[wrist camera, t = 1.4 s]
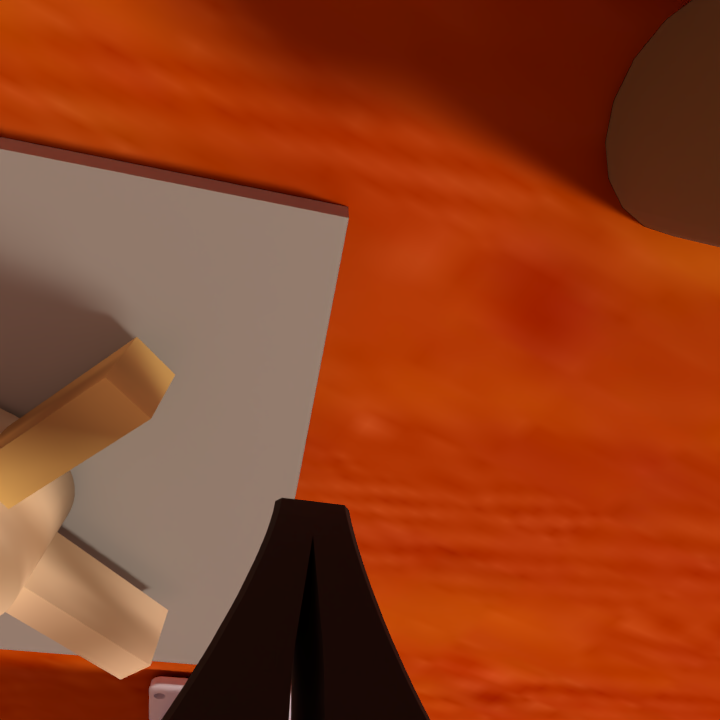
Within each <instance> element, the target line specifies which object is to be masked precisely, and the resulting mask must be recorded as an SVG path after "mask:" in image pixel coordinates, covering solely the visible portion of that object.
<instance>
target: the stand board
mask: <svg viewBox="0 0 720 720" xmlns="http://www.w3.org/2000/svg"><path fill="white" fill-rule="evenodd" d="M348 219H349V215H348V207H346V206H341V205H336V204H331V203H326V202H321V201H316V200H311V199H306V198H301V197H296V196H292V195H287V194H282V193H277V192H272V191H267V190H262V189H257V188H252V187H247V186H242V185H237V184H232V183H227V182H222V181H217V180H212V179H207V178H202V177H197V176H192V175H187V174H182V173H177V172H172V171H167V170H162V169H157V168H152V167H147V166H142V165H137V164H132V163H127V162H123V161H118V160H113V159H108V158H103V157H98V156H93V155H88V154H83V153H78V152H73V151H68V150H63V149H58V148H53V147H48V146H43V145H38V144H33V143H28V142H23V141H18V140H13V139H8V138H3V137H0V409H3V410H5V411H7V412H9V413H11V414H13V415H15V416H17V417H18V418H21V417H22V416H24V415H25V414H26V413H28V412H29V411H31V410H32V409H34V408H35V407H37V406H38V405H39V404H41V403H42V402H44V401H45V400H47V399H48V398H49V397H51V396H52V395H54V394H55V393H57V392H58V391H60V390H61V389H62V388H64V387H65V386H67V385H68V384H70V383H71V382H72V381H74V380H75V379H77V378H78V377H80V376H81V375H83V374H84V373H85V372H87V371H88V370H90V369H91V368H93V367H94V366H95V365H97V364H98V363H100V362H101V361H103V360H104V359H106V358H107V357H108V356H110V355H111V354H113V353H114V352H116V351H117V350H118V349H120V348H121V347H123V346H124V345H126V344H127V343H129V342H130V341H131V340H133V339H134V338H136V337H138V338H139V339H140V340H141V341H142V342H143V343H144V344H145V345H146V346H147V347H148V348H149V349H150V350H151V351H152V352H153V353H154V354H155V355H156V356H157V357H158V358H159V359H160V360H161V361H162V362H163V363H164V364H165V365H166V366H167V367H168V368H169V369H170V370H171V371H172V372H173V373H174V374H175V376H174V378H173V380H172V382H171V383H170V385H169V387H168V389H167V391H166V393H165V394H164V396H163V398H162V400H161V402H160V403H159V405H158V407H157V409H156V411H155V413H154V414H153V416H152V418H151V419H150V420H148V421H147V422H145V423H144V424H142V425H141V426H139V427H137V428H136V429H134V430H133V431H131V432H130V433H128V434H126V435H125V436H123V437H122V438H120V439H118V440H117V441H115V442H114V443H112V444H111V445H109V446H107V447H106V448H104V449H103V450H101V451H100V452H98V453H96V454H95V455H93V456H92V457H90V458H88V459H87V460H85V461H84V462H82V463H81V464H79V465H77V466H76V467H74V468H73V469H71V470H70V471H71V474H72V476H73V480H74V486H75V497H74V502H73V505H72V508H71V510H70V512H69V514H68V516H67V517H66V519H65V520H64V522H63V524H62V525H61V527H60V528H59V530H58V533H59V534H61V535H62V536H64V537H65V538H67V539H68V540H69V541H71V542H72V543H74V544H75V545H76V546H78V547H79V548H81V549H82V550H84V551H85V552H86V553H88V554H89V555H91V556H92V557H94V558H95V559H96V560H98V561H99V562H101V563H102V564H103V565H105V566H106V567H108V568H109V569H111V570H112V571H113V572H115V573H116V574H118V575H119V576H121V577H122V578H123V579H125V580H126V581H128V582H129V583H130V584H132V585H133V586H135V587H136V588H138V589H139V590H140V591H142V592H143V593H145V594H146V595H147V596H149V597H150V598H152V599H153V600H155V601H156V602H157V603H159V604H160V605H162V606H163V607H165V608H166V609H167V610H168V612H167V616H166V619H165V622H164V625H163V628H162V631H161V634H160V637H159V640H158V644H157V647H156V650H155V653H154V656H153V659H152V661H160V662H172V663H185V664H198V662H199V661H200V659H201V658H202V656H203V654H204V653H205V651H206V649H207V648H208V646H209V644H210V643H211V641H212V639H213V637H214V636H215V634H216V632H217V630H218V629H219V627H220V625H221V623H222V622H223V620H224V618H225V616H226V615H227V613H228V611H229V609H230V608H231V606H232V604H233V602H234V600H235V598H236V597H237V595H238V593H239V591H240V589H241V587H242V585H243V583H244V581H245V579H246V577H247V574H248V572H249V570H250V568H251V566H252V564H253V562H254V560H255V558H256V556H257V553H258V551H259V549H260V546H261V544H262V542H263V539H264V537H265V534H266V532H267V529H268V526H269V523H270V520H271V517H272V513H273V509H274V504H275V501H276V500H278V499H280V498H289V499H295V495H296V490H297V484H298V479H299V474H300V469H301V464H302V458H303V453H304V448H305V443H306V438H307V432H308V427H309V422H310V417H311V411H312V406H313V401H314V396H315V391H316V385H317V380H318V375H319V370H320V365H321V359H322V354H323V349H324V344H325V339H326V333H327V328H328V323H329V318H330V313H331V307H332V302H333V297H334V292H335V287H336V281H337V276H338V271H339V266H340V261H341V255H342V250H343V245H344V240H345V235H346V229H347V224H348ZM0 649H7V650H20V651H33V652H45V653H58V654H71V655H78V654H76V653H74V652H72V651H71V650H69V649H67V648H66V647H64V646H62V645H61V644H59V643H57V642H55V641H54V640H52V639H50V638H49V637H47V636H45V635H44V634H42V633H40V632H38V631H37V630H35V629H33V628H32V627H30V626H28V625H27V624H25V623H23V622H21V621H20V620H18V619H16V618H15V617H13V616H11V615H9V614H8V613H6V612H5V613H3V614H2V615H0Z"/></svg>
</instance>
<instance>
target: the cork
mask: <svg viewBox="0 0 720 720" xmlns="http://www.w3.org/2000/svg"><path fill="white" fill-rule="evenodd" d="M605 144H606V155H607V166H608V176H609V180H610V182H611V184H612V186H613V189H614V191H615V193H616V195H617V197H618V199H619V201H620V203H621V205H622V207H623V208H624V209H625V210H626V211H627V212H628V213H630V214H631V215H632V216H633V217H634V218H635V219H637V220H638V221H639V222H640V223H641V224H642V225H643V226H645V227H647V228H650V229H653V230H656V231H659V232H662V233H665V234H669V235H672V236H675V237H679V238H683V239H688V240H692V241H696V242H700V243H704V244H709V245H713V246H717V247H720V0H692V1H690V2H689V3H688V4H686V5H685V6H684V7H682V8H681V9H680V10H678V11H677V12H676V13H674V14H673V15H672V16H670V17H669V18H668V19H667V20H666V21H665V22H664V23H663V24H662V26H661V27H660V28H659V29H658V30H657V32H656V33H655V34H654V35H653V37H652V38H651V39H650V40H649V41H648V43H647V44H646V45H645V46H644V48H643V49H642V50H641V51H640V52H639V54H638V55H637V56H636V57H635V59H634V60H633V63H632V65H631V67H630V69H629V71H628V73H627V75H626V77H625V79H624V81H623V83H622V85H621V87H620V89H619V91H618V93H617V95H616V97H615V100H614V102H613V107H612V112H611V117H610V122H609V127H608V132H607V137H606V142H605Z"/></svg>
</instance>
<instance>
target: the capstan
mask: <svg viewBox="0 0 720 720" xmlns="http://www.w3.org/2000/svg"><path fill="white" fill-rule="evenodd" d="M174 376H175V374H174V373H173V372H172V371H171V370H170V369H169V368H168V367H167V366H166V365H165V364H164V363H163V362H162V361H161V360H160V359H159V358H158V357H157V356H156V355H155V354H154V353H153V352H152V351H151V350H150V349H149V348H148V347H147V346H146V345H145V344H144V343H143V342H142V341H141V340H140V339H139V338H138V337H136V338H134V339H133V340H131V341H130V342H129V343H127V344H126V345H124V346H123V347H121V348H120V349H118V350H117V351H116V352H114V353H113V354H111V355H110V356H108V357H107V358H106V359H104V360H103V361H101V362H100V363H98V364H97V365H95V366H94V367H93V368H91V369H90V370H88V371H87V372H85V373H84V374H83V375H81V376H80V377H78V378H77V379H75V380H74V381H72V382H71V383H70V384H68V385H67V386H65V387H64V388H62V389H61V390H60V391H58V392H57V393H55V394H54V395H52V396H51V397H49V398H48V399H47V400H45V401H44V402H42V403H41V404H39V405H38V406H37V407H35V408H34V409H32V410H31V411H29V412H28V413H26V414H25V415H24V416H22V417H21V418H18V417H17V416H15V415H13V414H11V413H9V412H7V411H5V410H3V409H0V615H2V614H3V613H5V612H6V613H8V614H9V615H11V616H13V617H15V618H16V619H18V620H20V621H21V622H23V623H25V624H27V625H28V626H30V627H32V628H33V629H35V630H37V631H38V632H40V633H42V634H44V635H45V636H47V637H49V638H50V639H52V640H54V641H55V642H57V643H59V644H61V645H62V646H64V647H66V648H67V649H69V650H71V651H72V652H74V653H76V654H78V655H79V656H81V657H83V658H84V659H86V660H88V661H90V662H91V663H93V664H95V665H96V666H98V667H100V668H101V669H103V670H105V671H107V672H108V673H110V674H112V675H113V676H115V677H117V678H118V679H120V680H121V679H123V678H125V677H127V676H129V675H131V674H134V673H136V672H138V671H140V670H142V669H144V668H146V667H148V666H150V665H151V662H152V659H153V656H154V653H155V650H156V647H157V644H158V640H159V637H160V634H161V631H162V628H163V625H164V622H165V619H166V616H167V612H168V610H167V609H166V608H165V607H163V606H162V605H160V604H159V603H157V602H156V601H155V600H153V599H152V598H150V597H149V596H147V595H146V594H145V593H143V592H142V591H140V590H139V589H138V588H136V587H135V586H133V585H132V584H130V583H129V582H128V581H126V580H125V579H123V578H122V577H121V576H119V575H118V574H116V573H115V572H113V571H112V570H111V569H109V568H108V567H106V566H105V565H103V564H102V563H101V562H99V561H98V560H96V559H95V558H94V557H92V556H91V555H89V554H88V553H86V552H85V551H84V550H82V549H81V548H79V547H78V546H76V545H75V544H74V543H72V542H71V541H69V540H68V539H67V538H65V537H64V536H62V535H61V534H59V533H58V530H59V528H60V527H61V525H62V524H63V522H64V520H65V519H66V517H67V516H68V514H69V512H70V510H71V508H72V505H73V502H74V497H75V486H74V480H73V476H72V474H71V471H70V470H71V469H73V468H74V467H76V466H77V465H79V464H81V463H82V462H84V461H85V460H87V459H88V458H90V457H92V456H93V455H95V454H96V453H98V452H100V451H101V450H103V449H104V448H106V447H107V446H109V445H111V444H112V443H114V442H115V441H117V440H118V439H120V438H122V437H123V436H125V435H126V434H128V433H130V432H131V431H133V430H134V429H136V428H137V427H139V426H141V425H142V424H144V423H145V422H147V421H148V420H150V419H151V418H152V416H153V414H154V413H155V411H156V409H157V407H158V405H159V403H160V402H161V400H162V398H163V396H164V394H165V393H166V391H167V389H168V387H169V385H170V383H171V382H172V380H173V378H174Z"/></svg>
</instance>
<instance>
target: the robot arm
mask: <svg viewBox="0 0 720 720" xmlns="http://www.w3.org/2000/svg"><path fill="white" fill-rule="evenodd" d="M149 720H430V719H429V717H428V715H427V713H426V711H425V709H424V707H423V705H422V703H421V701H420V699H419V697H418V695H417V693H416V691H415V689H414V687H413V685H412V683H411V681H410V678H409V676H408V674H407V672H406V670H405V668H404V666H403V663H402V661H401V659H400V657H399V654H398V652H397V650H396V648H395V645H394V643H393V641H392V639H391V636H390V634H389V631H388V629H387V626H386V624H385V622H384V619H383V617H382V614H381V611H380V609H379V606H378V603H377V601H376V598H375V596H374V593H373V590H372V588H371V585H370V582H369V579H368V577H367V574H366V571H365V568H364V565H363V562H362V558H361V555H360V552H359V549H358V545H357V542H356V539H355V535H354V531H353V527H352V523H351V519H350V514H349V510H348V509H347V508H346V506H345V505H338V504H330V503H322V502H314V501H305V500H297V499H289V498H280V499H278V500H276V501H275V504H274V509H273V513H272V517H271V520H270V523H269V526H268V529H267V532H266V534H265V537H264V539H263V542H262V544H261V546H260V549H259V551H258V553H257V556H256V558H255V560H254V562H253V564H252V566H251V568H250V570H249V572H248V574H247V577H246V579H245V581H244V583H243V585H242V587H241V589H240V591H239V593H238V595H237V597H236V598H235V600H234V602H233V604H232V606H231V608H230V609H229V611H228V613H227V615H226V616H225V618H224V620H223V622H222V623H221V625H220V627H219V629H218V630H217V632H216V634H215V636H214V637H213V639H212V641H211V643H210V644H209V646H208V648H207V649H206V651H205V653H204V654H203V656H202V658H201V659H200V661H199V662H198V664H197V666H196V667H195V669H194V671H193V672H192V674H191V675H190V677H189V678H177V677H164V676H159V677H155V678H154V679H152V681H151V684H150V687H149Z"/></svg>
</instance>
